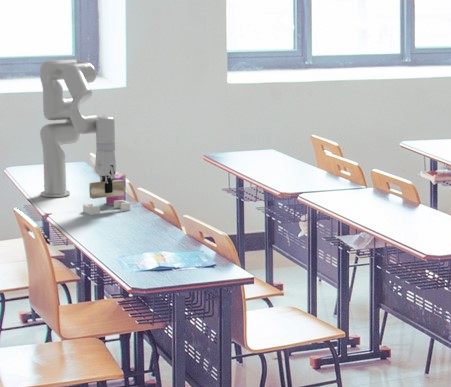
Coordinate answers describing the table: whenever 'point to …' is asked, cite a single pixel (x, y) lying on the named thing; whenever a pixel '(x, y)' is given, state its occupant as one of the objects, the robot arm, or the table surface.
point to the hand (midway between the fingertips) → (106, 191)
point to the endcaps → (96, 210)
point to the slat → (99, 189)
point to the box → (122, 197)
